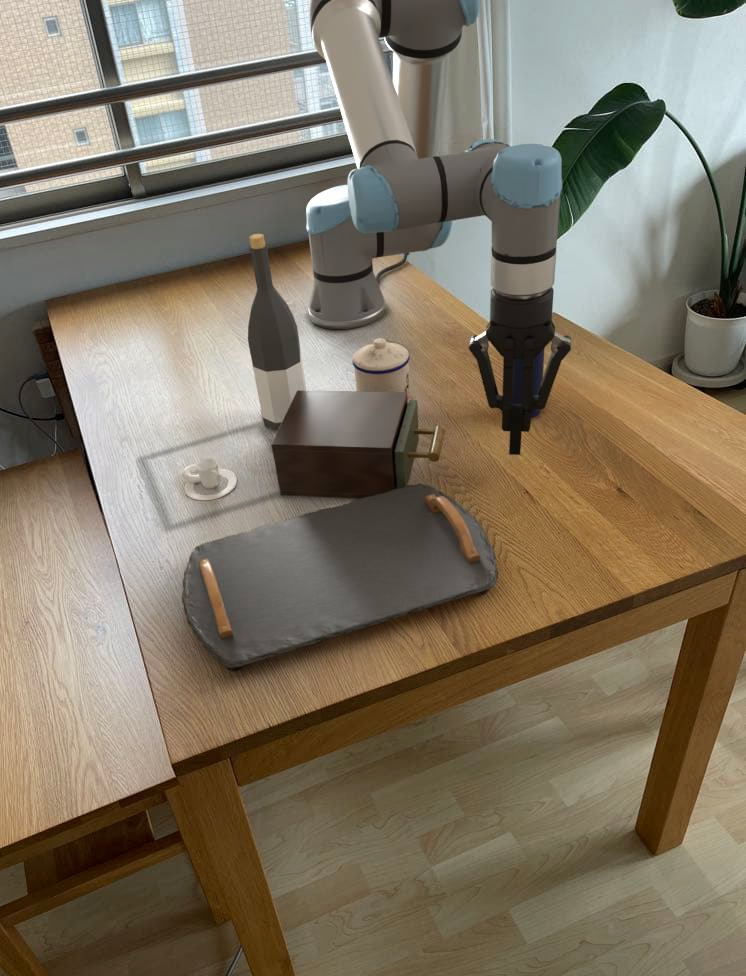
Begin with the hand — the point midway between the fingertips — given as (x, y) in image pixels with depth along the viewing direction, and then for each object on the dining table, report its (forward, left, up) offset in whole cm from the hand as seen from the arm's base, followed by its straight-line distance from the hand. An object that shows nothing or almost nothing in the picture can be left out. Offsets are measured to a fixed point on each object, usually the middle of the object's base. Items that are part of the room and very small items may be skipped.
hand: (515, 449), depth 114 cm
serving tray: (+25, -20, -4) cm, 32 cm away
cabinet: (0, -24, -4) cm, 25 cm away
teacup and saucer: (+3, -44, -5) cm, 45 cm away
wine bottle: (-13, -37, -4) cm, 40 cm away
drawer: (0, -20, -3) cm, 20 cm away
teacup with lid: (-19, -22, -4) cm, 30 cm away
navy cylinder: (-17, +1, -4) cm, 18 cm away
